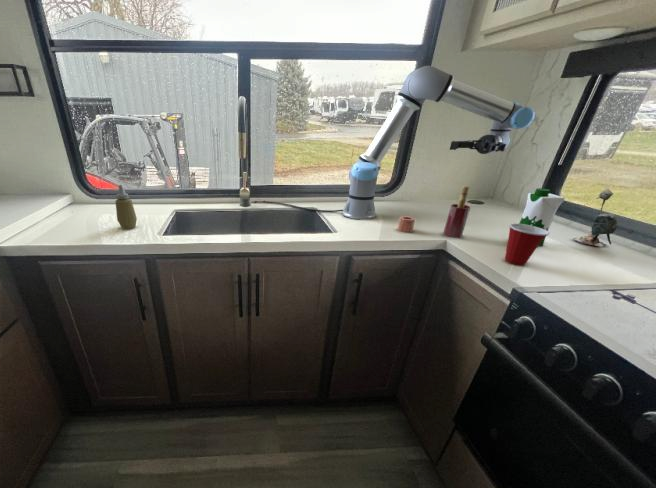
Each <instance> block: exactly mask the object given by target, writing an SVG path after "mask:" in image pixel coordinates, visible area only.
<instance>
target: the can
mask: <svg viewBox="0 0 656 488" xmlns="http://www.w3.org/2000/svg"><path fill="white" fill-rule="evenodd" d="M457 206H458V203H454V204H453V203H452V204H450V207H449V211H448V213H447V217H446V222H445V225H444V228H443V232H442V235H443V236H444V237H448V238H454V239H455V238H457V239H461V238H462V236H463V234H464V230H465V227H466V224H467V222H468V217H469V214H470V211H471V207H472V206H470V205H467V204H465V205H464V208H457Z"/></svg>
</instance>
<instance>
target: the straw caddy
mask: <svg viewBox="0 0 656 488" xmlns="http://www.w3.org/2000/svg"><path fill="white" fill-rule="evenodd" d="M415 223H416V217H413V216H408V215H404V216H400V217H399V220H398V225H397V231H399V232H401V233H412V232H414V226H415Z"/></svg>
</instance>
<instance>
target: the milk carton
mask: <svg viewBox="0 0 656 488" xmlns="http://www.w3.org/2000/svg"><path fill="white" fill-rule="evenodd" d="M550 192H551V189H548V188H541V187H539V188H538V187H537V188H535V190H534V192H529V193H527V199H526V205H525V208H524V210H523V213H522V216H521V218H520V220H519V223H518V224H525V225H531V226H535V227H538V228H542V229H544V230H546V231H548V232H549V229H550V227H551V225H552V223H553V221H554V218H555V216H556V213H557V211H558V209H559V208H560V206H561V205H562V203H563V202H564V201H565V199H566V197H564V196H560V195H557V194H553V193H550ZM546 237H547V236H546ZM546 237H545V238H544V239H543V240H542V241H541V242H540V244H539V245H538V246H537V247H543V246H544V244H545V240H546Z"/></svg>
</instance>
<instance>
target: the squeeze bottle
mask: <svg viewBox="0 0 656 488" xmlns="http://www.w3.org/2000/svg"><path fill="white" fill-rule="evenodd" d="M114 201H115V211H116V220H117V222H118V224H119V226H120V228H121V229H123V230H131V229H134V228H136V227H137V220H138V218H137V215H136V214H137V213H136V211H135V207H134V204H133V201H132V199H131V198H129V194H128V193H127V192H126V191H125V188H124V187H123V185H122V184H119V185H118V193H117V194H116V200H114Z"/></svg>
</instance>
